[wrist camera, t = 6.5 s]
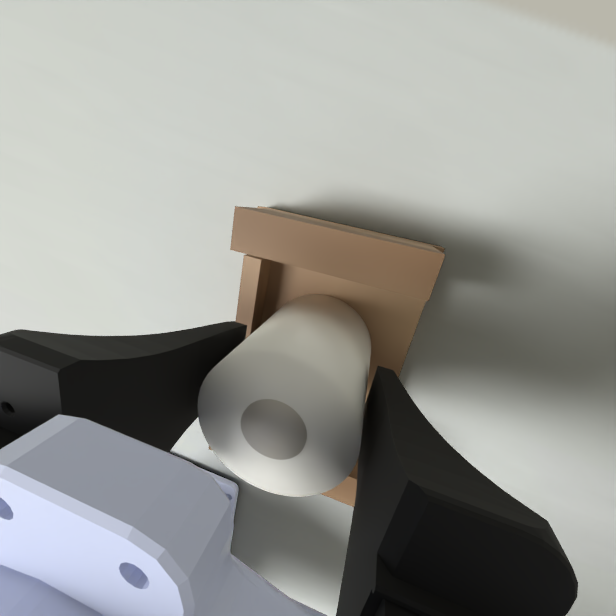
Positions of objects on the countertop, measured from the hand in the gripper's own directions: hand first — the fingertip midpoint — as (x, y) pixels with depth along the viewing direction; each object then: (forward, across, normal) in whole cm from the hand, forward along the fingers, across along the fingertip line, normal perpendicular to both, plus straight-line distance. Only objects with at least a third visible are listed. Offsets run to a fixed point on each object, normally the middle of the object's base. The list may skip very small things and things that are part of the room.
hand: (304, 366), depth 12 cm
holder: (+3, 0, 0) cm, 3 cm away
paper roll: (+2, 0, 0) cm, 2 cm away
